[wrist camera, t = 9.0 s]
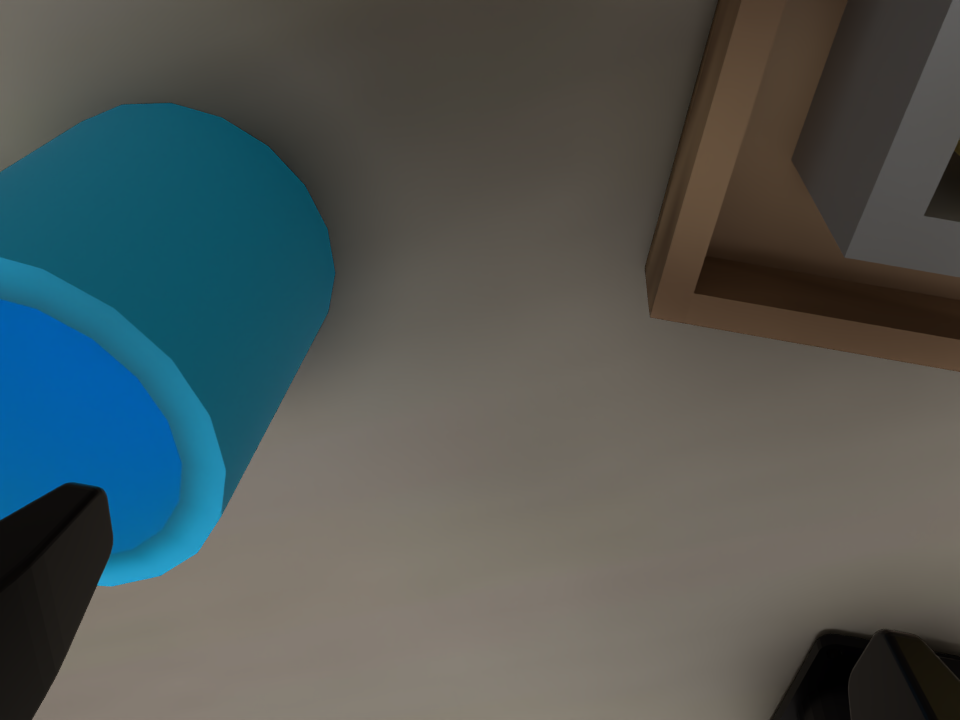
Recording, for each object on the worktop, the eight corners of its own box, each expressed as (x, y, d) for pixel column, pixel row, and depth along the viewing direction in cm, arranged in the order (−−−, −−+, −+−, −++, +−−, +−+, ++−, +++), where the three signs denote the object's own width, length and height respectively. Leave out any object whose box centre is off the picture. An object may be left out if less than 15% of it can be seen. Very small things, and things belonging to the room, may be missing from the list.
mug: (335, 123, 21) (207, 281, 14) (335, 393, 25) (240, 611, 18) (-138, 62, 21) (-484, 185, 14) (-54, 337, 26) (-287, 529, 19)
